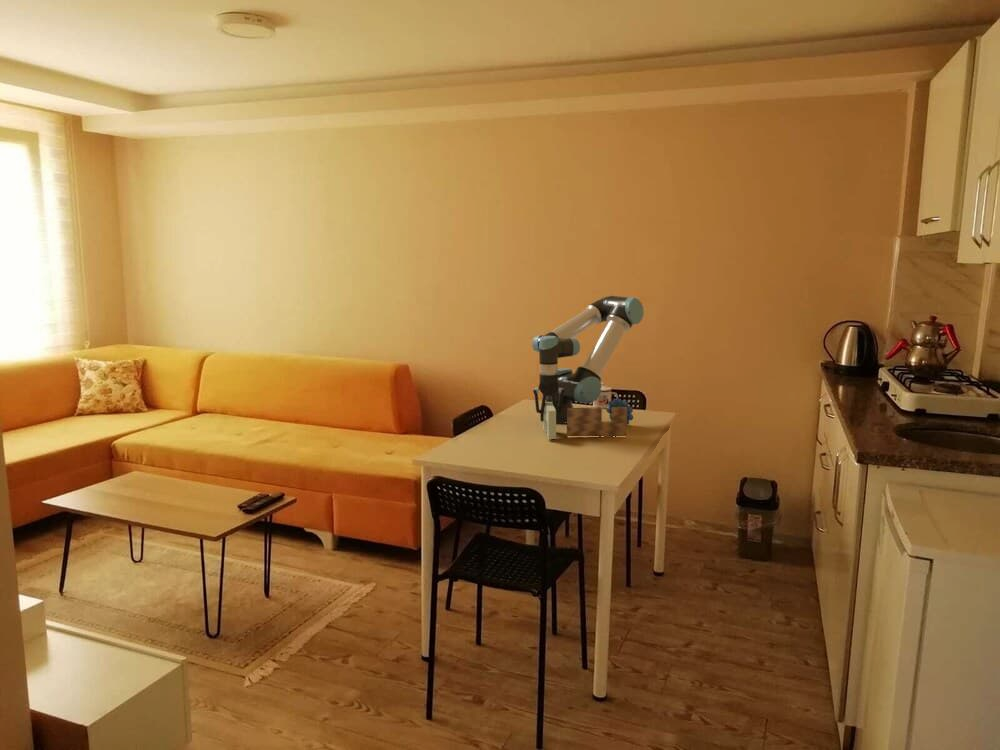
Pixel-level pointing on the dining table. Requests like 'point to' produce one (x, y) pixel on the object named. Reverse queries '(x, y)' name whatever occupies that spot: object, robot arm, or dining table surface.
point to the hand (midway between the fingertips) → (548, 428)
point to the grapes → (619, 403)
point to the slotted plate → (550, 420)
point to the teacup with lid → (604, 397)
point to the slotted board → (596, 422)
